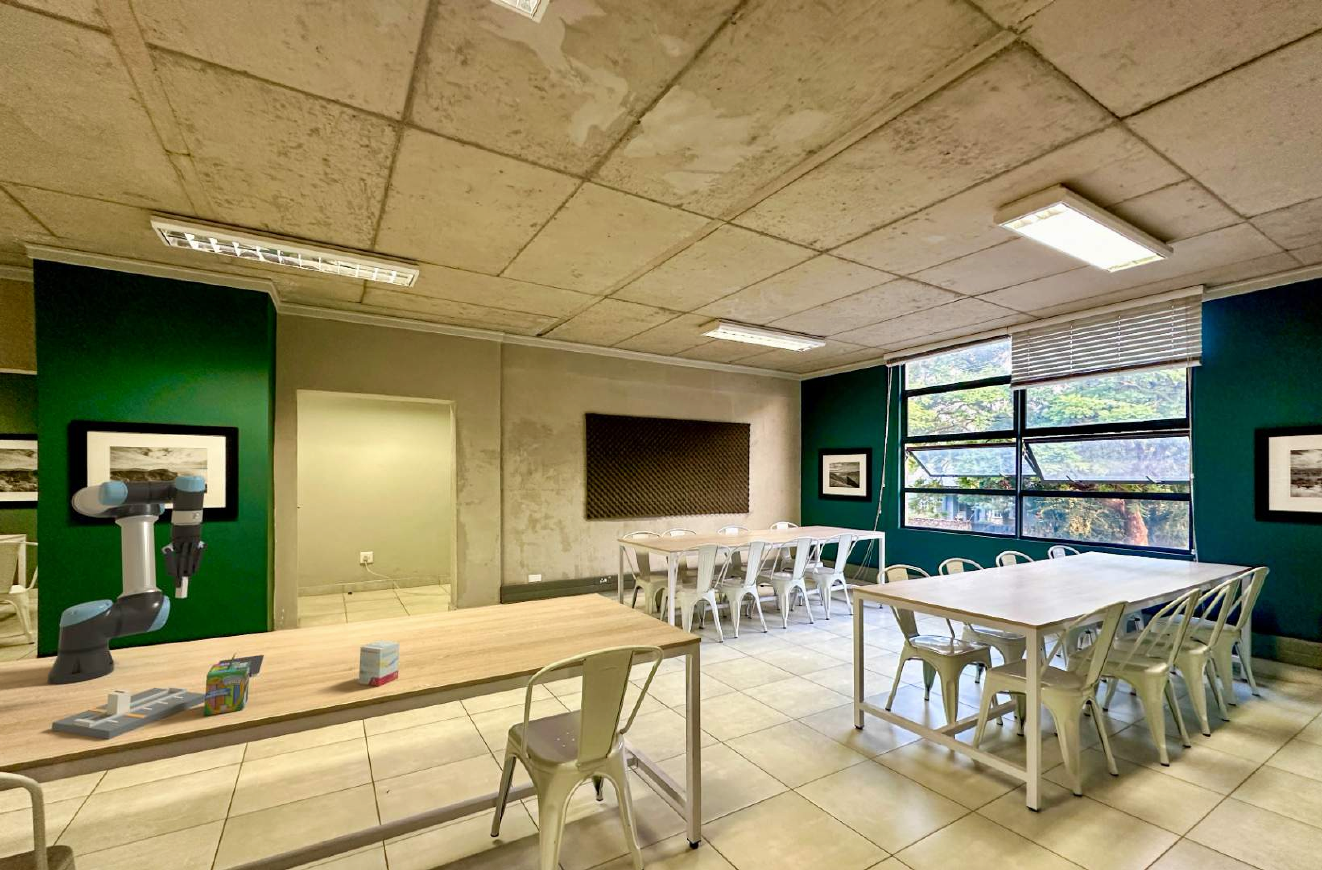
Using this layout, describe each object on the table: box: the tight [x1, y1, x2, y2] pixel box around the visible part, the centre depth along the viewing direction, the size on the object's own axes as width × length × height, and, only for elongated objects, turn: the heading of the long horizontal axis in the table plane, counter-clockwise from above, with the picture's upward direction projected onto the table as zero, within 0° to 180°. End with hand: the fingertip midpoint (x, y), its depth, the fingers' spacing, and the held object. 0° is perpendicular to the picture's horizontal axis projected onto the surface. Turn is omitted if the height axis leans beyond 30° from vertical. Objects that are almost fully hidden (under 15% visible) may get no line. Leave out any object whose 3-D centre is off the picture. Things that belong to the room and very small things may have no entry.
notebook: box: [218, 654, 265, 678], centre depth 189 cm, size 13×2×21 cm
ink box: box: [358, 639, 400, 687], centre depth 180 cm, size 9×9×12 cm
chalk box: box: [203, 652, 251, 717], centre depth 159 cm, size 9×9×15 cm
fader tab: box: [106, 689, 132, 715], centre depth 150 cm, size 4×3×6 cm
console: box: [51, 686, 206, 740], centre depth 153 cm, size 20×24×3 cm
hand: (180, 597), depth 177 cm, fingers closed
